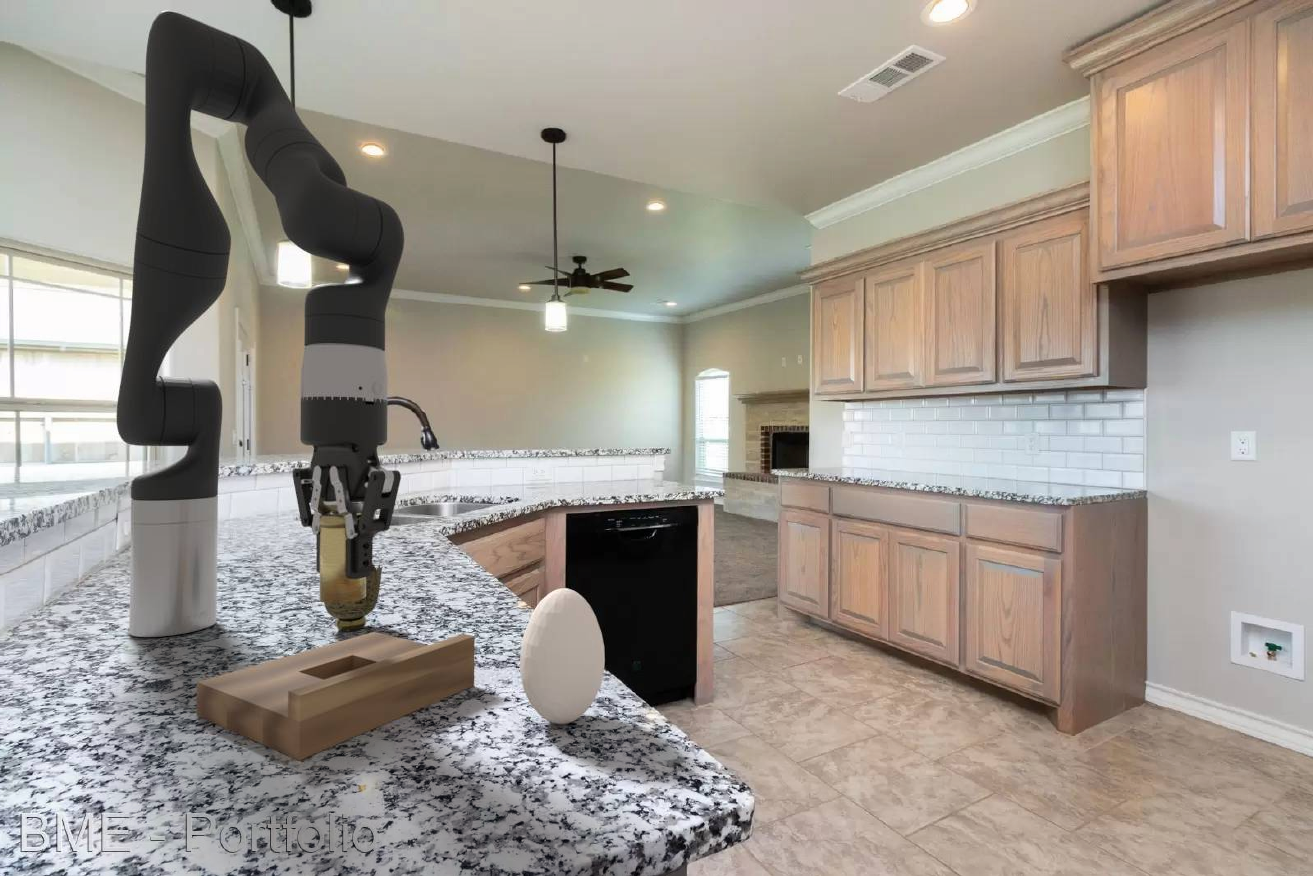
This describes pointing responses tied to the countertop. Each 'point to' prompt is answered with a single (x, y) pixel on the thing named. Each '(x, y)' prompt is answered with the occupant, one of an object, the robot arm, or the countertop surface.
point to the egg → (562, 657)
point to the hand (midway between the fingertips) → (343, 574)
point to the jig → (335, 690)
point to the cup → (357, 605)
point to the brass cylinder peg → (336, 562)
